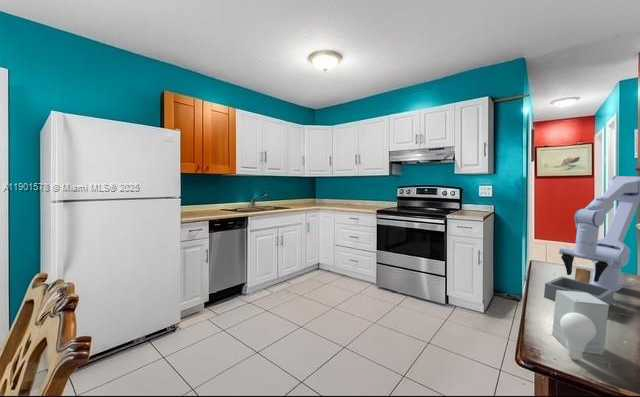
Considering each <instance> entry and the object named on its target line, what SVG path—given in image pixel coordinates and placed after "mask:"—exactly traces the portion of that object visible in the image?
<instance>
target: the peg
mask: <svg viewBox="0 0 640 397" xmlns="http://www.w3.org/2000/svg"><path fill="white" fill-rule="evenodd" d="M591 273H592V271H591V270H589V269H586V268H585V269H584V268H575V276H574V280H577V281H581V282H585V283H589V282H591V281H590V280H591Z"/></svg>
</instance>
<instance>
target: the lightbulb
mask: <svg viewBox="0 0 640 397" xmlns="http://www.w3.org/2000/svg"><path fill="white" fill-rule="evenodd" d="M560 326H561V328H562V331H563V333H564V334H565V337H566V345H567V348H566V350H567V352H566V353H567V356H568V357H569V358H571V359H572V360H573V361H579V360H582V358H583V354H584V353H583V352H584V350H585V347H586V345H587V343H588V342H589V341H591V340H592V339H593V338H594V337H595V335H596V328H595V325H594V323H593V322H592V321H591V320H590V319H589V318H588V317H586V316H584V315H582V314H580V313H567V314H565V315H564V316H563V317H562V318H561V320H560Z"/></svg>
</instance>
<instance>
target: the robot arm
mask: <svg viewBox="0 0 640 397" xmlns="http://www.w3.org/2000/svg"><path fill="white" fill-rule="evenodd" d="M616 200H618V205H617V208H616V210H615V213H614V215H613V217H612V220H611V222H610V224H609V227H608V230H607V231H606V234H605V237H603V238H599V232H600V227H601V226H603V224H604V222H605V219H606V218H607V214H608V213H610V211H611V210H612V209H613V208H614V207H615V203H614V202H615V201H616ZM639 204H640V176H624V175H622V176H620V175H613V176H611V178H610V179H609V180H608V188H607V189H606V190H605V192H604V193H603V194H602V196H596V197H595V198H594V199H593V200H592V201H591V202H590V203H589V204H588V205H587V206H585V208H581V209H578V210H577V211H576V212H575V213H574V214H575V215H574V217H573V218H574V222H575V228H576V229H577V230H576V238H575V247H574V250H573V249H566V248H559V251H558V254H559V255H561V260H562V262H563V264H564V267H565V270H566V275H568V276H570V275H572V273H573V263H574V259H575V258H578V259H579V258H580V259H584V260H588V261H591V262H592V263H593V271H592V277H591V278H592V280H591V281H590V282H589V284H593V285H596V286H600V287H604V288H608V289H612V290H614V293H616V292H618V291H619V290H621V289H623V288H624V285H621V277H622V269H621V268H623V267H625V266H627V265H628V263H629V261H630V255H631V254H630V253H631V249H630V247H629V246H627V244H626V243H625V242H624V240H625V238H626V236H627V232H628V230H629V228H630V226H631V223H632V221H633V219H634V216H635V214H636V211H637V208H638V206H639Z"/></svg>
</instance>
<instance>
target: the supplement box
mask: <svg viewBox="0 0 640 397" xmlns="http://www.w3.org/2000/svg"><path fill="white" fill-rule="evenodd" d="M609 308H610V307H609V305H608V304H607V303H605V302H603V301H601V300H599V299H597V298H596V297H594V296H592V295H590V294H589V293H585V292H574V291H560V290H556V299H555V301H554V310H553V320H552V321H553V322H552V331H551V336H553V337H554V338H555V339H556V340H557V341H558V342H560V344H562V346H564V348H566V349H567V345H566V337H565V334H564V333H563V331H562V328H561V326H560V320H561V318H562V317H563V316H564V315H565V314H567V313H580V314H582V315H584V316H586V317H588V318H589V319H590V320H591V321H592V322H593V323H594V325H595V328H596V335H595V337H594V338H593V339H592V340H591V341H589V342H588V343H587V345H586V347H585V350H584V352H583V354H584V353H585V354H592V355H593V354H594V355H604V352H605V343H606V335H607V325H608V314H609Z"/></svg>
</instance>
